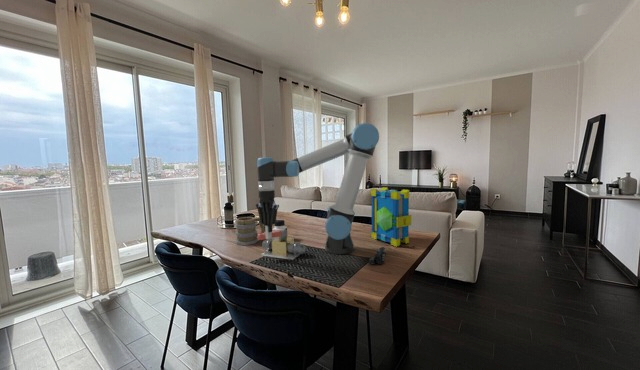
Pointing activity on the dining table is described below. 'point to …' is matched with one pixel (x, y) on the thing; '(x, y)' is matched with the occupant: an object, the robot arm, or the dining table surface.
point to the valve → (283, 248)
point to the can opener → (378, 257)
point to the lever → (275, 235)
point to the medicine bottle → (279, 226)
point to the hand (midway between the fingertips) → (268, 238)
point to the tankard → (247, 230)
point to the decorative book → (390, 215)
